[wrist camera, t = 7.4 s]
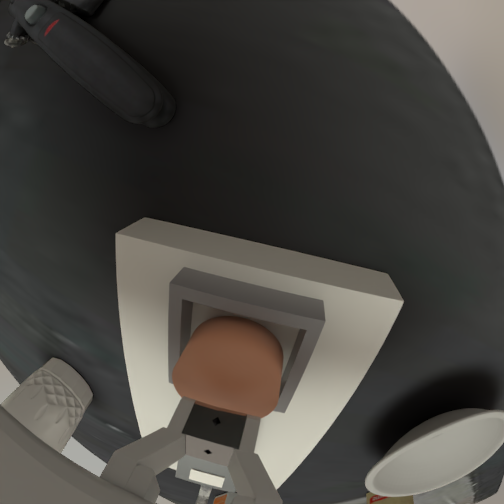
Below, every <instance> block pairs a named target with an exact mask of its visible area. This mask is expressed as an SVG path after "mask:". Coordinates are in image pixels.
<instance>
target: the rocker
mask: <svg viewBox="0 0 504 504" xmlns="http://www.w3.org/2000/svg"><path fill="white" fill-rule="evenodd" d="M175 477H177V478H181V479H184V480H187V481H190V482H193V483H197V484H200V485H204V486H207V487H211V488H215V489H219V490H223V491H228V492H232V493H235V491H236V489H235V486H234V484H233V481H232V479H231V476H230V473H229V470H228V467H227V466H223V465H219V464H216V463H213V462H209V461H207V460H202V459H199V458H195V457H192V456H188V455H185V456H184V457H182V458H181V459H179V460H178V464H177V470H176V476H175Z"/></svg>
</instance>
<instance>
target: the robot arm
mask: <svg viewBox="0 0 504 504" xmlns="http://www.w3.org/2000/svg"><path fill="white" fill-rule="evenodd" d="M260 421H261V418H260V417H258V416H253V415H248V414H246V413H241V412H237V411H233V410H228V409H225V408H220V407H216V406H213V405H209V404H206V403H203V402H200V401H197V400H194V399H191V398H188V397H185V396H183V397H182V398H181V400H180V402H179V404H178V406H177V408H176V410H175V412H174V414H173V416H172V418H171V420H170V422H169V425H168V427H167V428H165V427H162V428H160V429H158V430H156V431H155V432H153V433H151V434H149V435H147V436H145V437H143V438H141V439H139V440H137V441H135V442H133V443H131V444H129V445H127V446H124V447H122V448H120V449H118V450H116V451H114V453H113V455H112V457H111V458H110V460H109V462H108V463H107V465H106V467H105V469H104V470H103V472H102V474H101V476H100V477H98V476H96V475H95V474H93V473H91V472H89V471H87V470H86V469H84V468H83V467H81V466H79V465H78V464H76V463H74V462H73V461H71V460H70V459H68V458H67V457H65V456H63V455H62V454H61V453H59V452H58V451H56V450H55V449H53V448H52V447H51V446H49V445H48V444H46V443H45V442H44V441H42V440H41V439H40V438H38V437H37V436H36V435H35V434H33V433H32V432H31V431H30V430H28V429H27V428H26V427H25V426H24V425H22V424H21V423H20V422H19V421H18V420H17V419H15V418H14V417H13V416H12V415H11V414H10V413H9V412H8V411H7V410H6V409H4V408H3V407H2V406H1V405H0V504H157V503H155V502H156V500H157V497H158V495H159V492H160V488H159V485H158V482H157V479H156V475H157V474H158V473H160V472H161V471H163V470H165V469H166V468H168V467H169V466H171V465H172V464H174V463H175V462H177V461H178V460H179V459H181V458H182V457H184V456H185V455H188V456H192V457H195V458H199V459H202V460H207V461H209V462H213V463H216V464H219V465H223V466H227V467H228V470H229V473H230V476H231V479H232V481H233V484H234V486H235V489H236V492H237V494H238V496H236V497H234V499H233V500H232V502H231V503H230V504H282V502H283V501H282V499H281V498H280V496H279V494H278V492H277V490H276V488H275V487H274V485H273V483H272V481H271V479H270V477H269V475H268V473H267V471H266V469H265V467H264V465H263V463H262V461H261V459H260V457H259V455H258V454H256V453H254V451H255V446H256V441H257V436H258V431H259V426H260Z"/></svg>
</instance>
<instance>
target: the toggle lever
mask: <svg viewBox="0 0 504 504" xmlns="http://www.w3.org/2000/svg"><path fill="white" fill-rule="evenodd" d="M211 489H212V488H211V487H207V486H204V485H201V488H200V491H199V494H198V498H197V501H196V504H207V502H208V499H209V496H210V492H211Z"/></svg>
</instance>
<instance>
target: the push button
mask: <svg viewBox="0 0 504 504" xmlns="http://www.w3.org/2000/svg"><path fill="white" fill-rule="evenodd" d="M283 359H284V355H283V350H282V347H281V345H280V342H279V341H278V339H277V338H276V337H275V336H274V335H273V333H271V332H270V331H269V330H268V329H267V328H265V327H264V326H262V325H260V324H259V323H257V322H254V321H252V320H249V319H246V318H242V317H237V316H219V317H214V318H211V319H208V320H206V321H204V322H203V323H201V324H200V325H199V326H198V327H197V328H196V329H195V331H194V332H193V334H192V336H191V338H190V340H189V341H188V343H187V345H186V347H185V349H184V350H183V352H182V354H181V356H180V358H179V359H178V361H177V363H176V365H175V367H174V369H173V372H172V381H173V384H174V387H175V389H176V391H177V392H178V394H179V395H180V396H181V398H182V397H183V396H185V397H188V398H191V399H194V400H197V401H200V402H203V403H206V404H209V405H213V406H216V407H220V408H225V409H228V410H233V411H237V412H241V413H246V414H248V415H253V416H258V417H260V418H263V417H265V416H267V415H269V414H270V413H271V412H272V411H273V410H274V409H275V407H276V406H277V404H278V400H279V392H280V385H281V376H282V368H283Z"/></svg>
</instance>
